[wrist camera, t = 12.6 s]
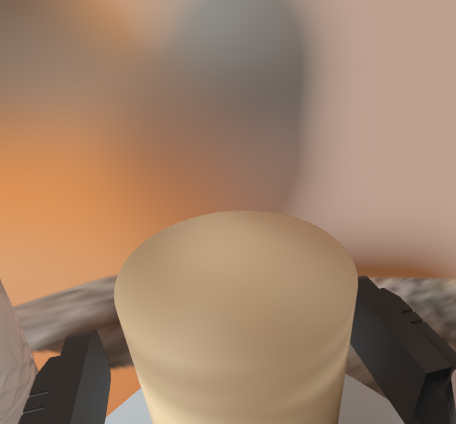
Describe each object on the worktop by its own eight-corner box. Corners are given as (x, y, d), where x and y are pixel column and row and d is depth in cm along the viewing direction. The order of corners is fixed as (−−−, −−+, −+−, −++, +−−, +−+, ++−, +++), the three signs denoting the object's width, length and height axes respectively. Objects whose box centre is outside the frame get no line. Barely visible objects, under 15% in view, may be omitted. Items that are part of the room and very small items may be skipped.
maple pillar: (247, 417, 15) (228, 195, 10) (344, 505, 12) (397, 251, 7) (164, 518, 12) (71, 276, 7) (267, 670, 9) (246, 447, 4)
